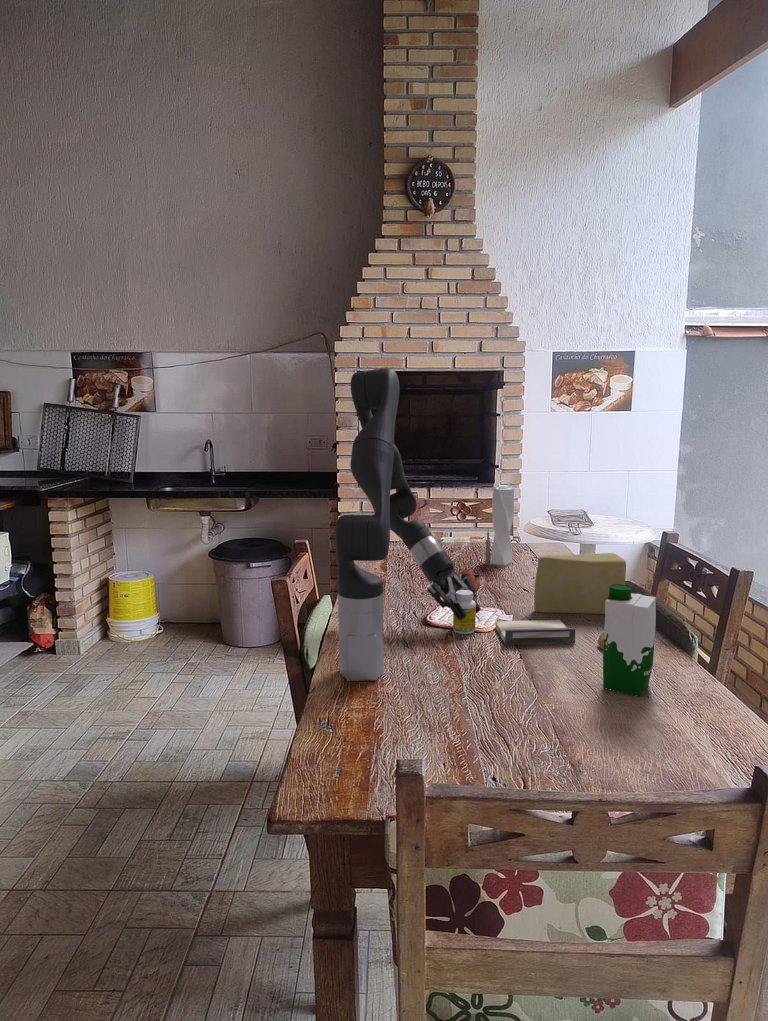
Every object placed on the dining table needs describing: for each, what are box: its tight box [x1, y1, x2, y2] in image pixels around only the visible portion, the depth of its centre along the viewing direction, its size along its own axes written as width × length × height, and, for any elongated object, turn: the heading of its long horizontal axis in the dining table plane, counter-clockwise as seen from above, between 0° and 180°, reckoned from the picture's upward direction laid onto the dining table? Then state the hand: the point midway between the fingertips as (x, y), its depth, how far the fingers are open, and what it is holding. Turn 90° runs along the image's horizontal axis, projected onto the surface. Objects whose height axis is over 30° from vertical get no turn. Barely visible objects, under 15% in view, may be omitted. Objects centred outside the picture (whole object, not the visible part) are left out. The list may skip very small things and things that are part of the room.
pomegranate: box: [457, 569, 482, 593], centre depth 196 cm, size 7×7×10 cm
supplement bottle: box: [452, 590, 477, 635], centre depth 167 cm, size 5×5×10 cm
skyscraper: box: [483, 479, 515, 568], centre depth 228 cm, size 8×8×28 cm
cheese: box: [533, 552, 627, 615], centre depth 180 cm, size 22×10×15 cm, turn 91°
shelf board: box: [494, 619, 577, 646], centre depth 164 cm, size 12×16×4 cm
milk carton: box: [602, 584, 657, 697], centre depth 134 cm, size 9×9×20 cm
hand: (470, 614), depth 166 cm, fingers closed on supplement bottle, 5 cm apart
